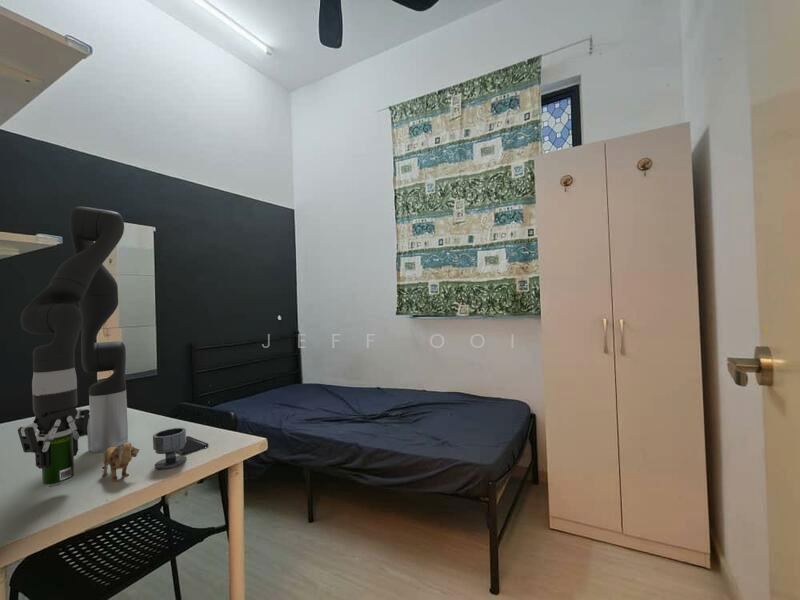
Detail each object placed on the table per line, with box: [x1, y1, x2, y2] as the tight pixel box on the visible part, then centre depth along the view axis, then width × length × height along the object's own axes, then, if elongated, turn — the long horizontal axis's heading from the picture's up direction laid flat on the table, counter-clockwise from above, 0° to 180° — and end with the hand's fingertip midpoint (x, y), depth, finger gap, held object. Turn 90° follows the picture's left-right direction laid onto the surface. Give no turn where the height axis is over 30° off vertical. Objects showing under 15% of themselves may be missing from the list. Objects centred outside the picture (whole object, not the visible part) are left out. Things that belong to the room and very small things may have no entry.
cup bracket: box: [152, 427, 187, 471], centre depth 99 cm, size 7×7×8 cm
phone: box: [176, 435, 209, 456], centre depth 111 cm, size 8×1×15 cm
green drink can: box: [41, 428, 75, 488], centre depth 84 cm, size 5×5×12 cm
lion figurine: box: [101, 442, 140, 483], centre depth 93 cm, size 15×5×9 cm, turn 62°
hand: (57, 461), depth 83 cm, fingers closed on green drink can, 5 cm apart
